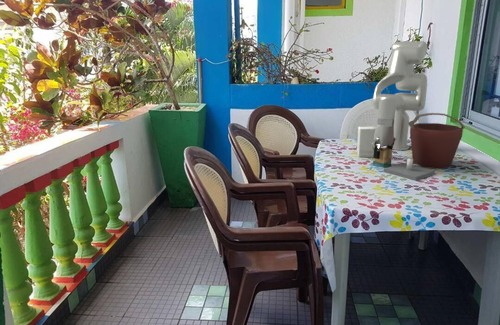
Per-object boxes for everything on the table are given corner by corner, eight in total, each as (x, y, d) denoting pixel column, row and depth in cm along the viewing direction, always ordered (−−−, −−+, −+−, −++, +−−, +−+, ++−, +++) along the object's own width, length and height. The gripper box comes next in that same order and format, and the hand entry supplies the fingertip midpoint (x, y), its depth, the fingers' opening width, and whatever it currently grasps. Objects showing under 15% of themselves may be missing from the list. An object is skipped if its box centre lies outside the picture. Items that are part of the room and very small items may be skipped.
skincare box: (371, 154, 207) (374, 126, 203) (374, 157, 201) (376, 128, 196) (356, 154, 208) (358, 126, 204) (358, 157, 201) (360, 128, 197)
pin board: (402, 165, 186) (404, 152, 184) (434, 173, 173) (436, 159, 172) (383, 171, 177) (384, 158, 175) (415, 180, 164) (417, 166, 163)
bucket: (402, 165, 186) (407, 114, 179) (407, 155, 205) (412, 109, 198) (458, 172, 175) (467, 118, 168) (458, 161, 194) (466, 112, 187)
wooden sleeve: (380, 162, 191) (381, 147, 189) (391, 165, 187) (392, 149, 184) (372, 164, 188) (374, 149, 186) (383, 167, 183) (385, 151, 181)
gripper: (389, 119, 189) (386, 153, 194) (367, 122, 179) (364, 158, 184) (403, 121, 183) (399, 156, 188) (381, 125, 173) (378, 161, 178)
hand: (382, 157), depth 186 cm, fingers open, 9 cm apart
